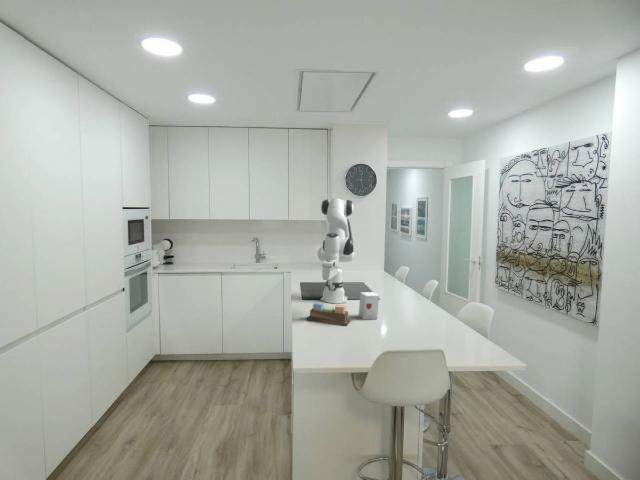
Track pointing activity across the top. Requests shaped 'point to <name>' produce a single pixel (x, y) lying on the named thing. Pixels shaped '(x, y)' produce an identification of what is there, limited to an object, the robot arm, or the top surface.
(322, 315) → the divided box
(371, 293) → the supplement box
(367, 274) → the top surface
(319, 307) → the blue block
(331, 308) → the sage block
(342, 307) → the terracotta block
